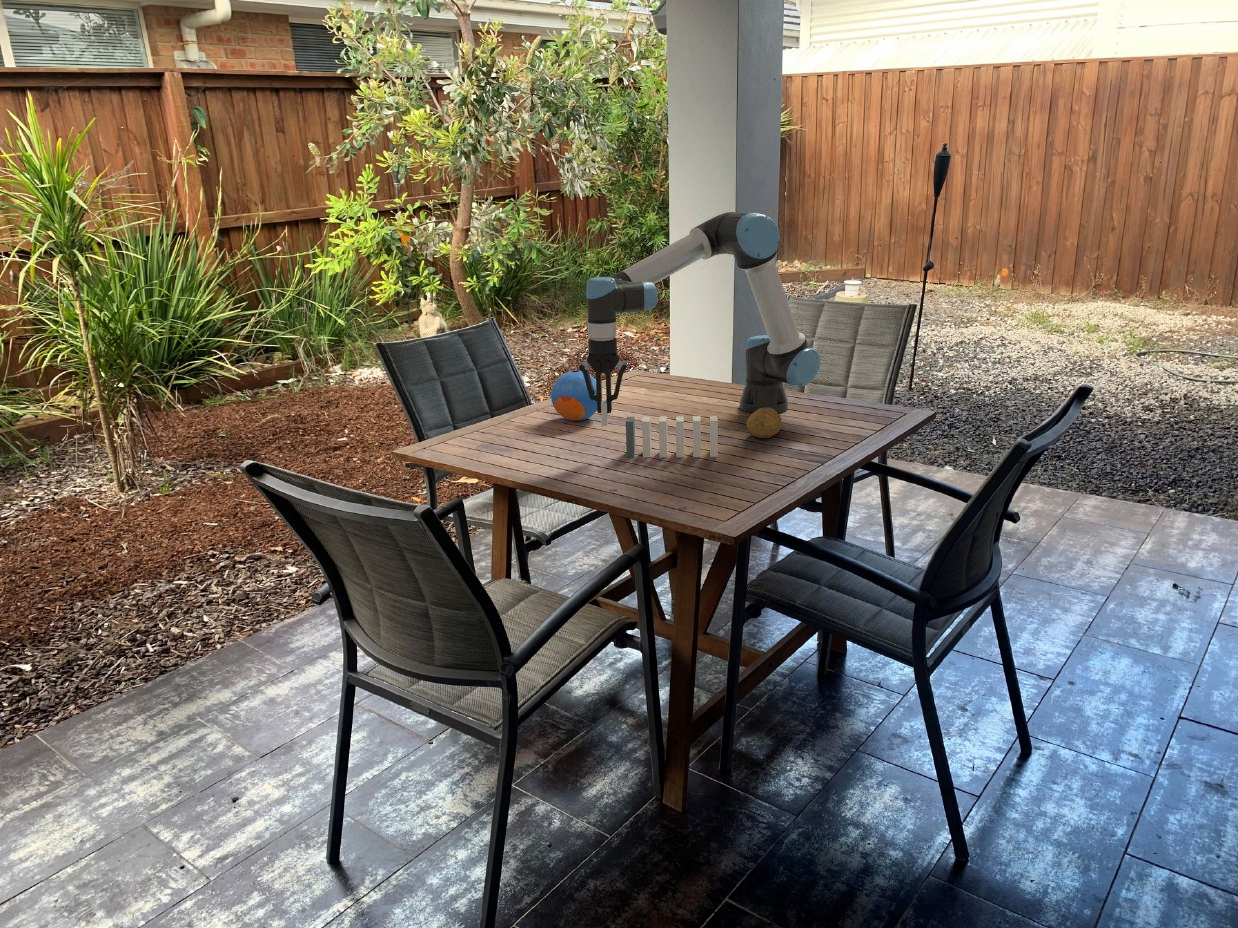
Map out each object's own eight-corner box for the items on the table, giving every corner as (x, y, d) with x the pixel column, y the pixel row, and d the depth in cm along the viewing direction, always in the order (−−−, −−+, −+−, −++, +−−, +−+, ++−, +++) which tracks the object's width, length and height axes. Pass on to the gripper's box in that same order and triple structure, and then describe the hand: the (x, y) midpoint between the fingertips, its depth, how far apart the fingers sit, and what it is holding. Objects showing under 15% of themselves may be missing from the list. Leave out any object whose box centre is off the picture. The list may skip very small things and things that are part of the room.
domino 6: (717, 451, 248) (717, 416, 245) (717, 457, 243) (717, 421, 240) (709, 451, 248) (709, 416, 245) (710, 457, 243) (710, 421, 240)
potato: (782, 430, 265) (783, 403, 262) (779, 444, 252) (780, 416, 249) (749, 429, 267) (749, 402, 264) (744, 443, 254) (744, 415, 251)
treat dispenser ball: (544, 424, 278) (541, 375, 273) (565, 411, 292) (562, 364, 287) (590, 428, 273) (588, 378, 268) (609, 415, 286) (608, 367, 281)
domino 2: (651, 451, 249) (650, 416, 246) (650, 457, 245) (649, 421, 242) (644, 451, 250) (643, 416, 246) (642, 457, 245) (642, 421, 242)
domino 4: (684, 451, 249) (683, 416, 245) (683, 457, 244) (683, 421, 241) (676, 451, 249) (676, 416, 246) (676, 457, 244) (676, 421, 241)
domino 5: (700, 451, 248) (700, 416, 245) (700, 457, 244) (700, 421, 240) (693, 451, 248) (693, 416, 245) (693, 457, 244) (692, 421, 241)
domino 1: (635, 451, 250) (634, 416, 247) (634, 457, 245) (633, 421, 242) (628, 451, 250) (627, 416, 247) (626, 457, 245) (625, 421, 242)
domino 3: (667, 451, 249) (667, 416, 246) (667, 457, 244) (666, 421, 241) (660, 451, 249) (659, 416, 246) (659, 457, 244) (658, 421, 241)
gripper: (628, 335, 241) (630, 420, 248) (579, 335, 242) (582, 420, 249) (626, 340, 234) (628, 428, 241) (575, 340, 235) (579, 428, 242)
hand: (604, 424), depth 245 cm, fingers closed
